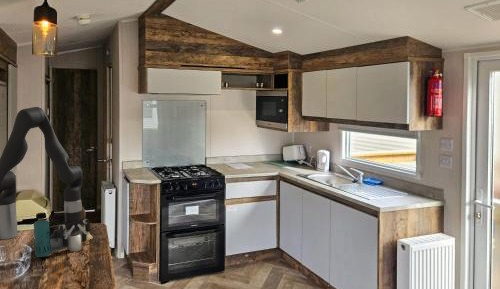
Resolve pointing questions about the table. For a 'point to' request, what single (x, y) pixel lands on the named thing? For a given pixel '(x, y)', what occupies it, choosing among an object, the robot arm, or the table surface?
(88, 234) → the hand bell
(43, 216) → the beverage bottle
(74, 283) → the table surface
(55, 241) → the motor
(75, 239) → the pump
